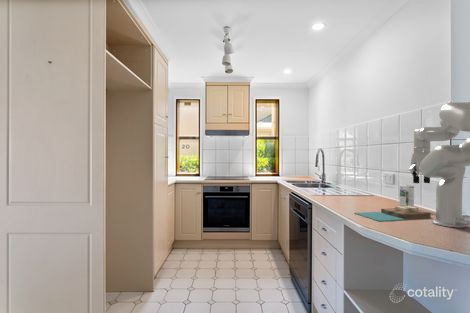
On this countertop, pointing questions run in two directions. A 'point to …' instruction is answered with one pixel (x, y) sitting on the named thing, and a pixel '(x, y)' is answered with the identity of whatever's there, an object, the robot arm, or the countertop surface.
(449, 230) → the countertop surface
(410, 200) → the syrup box
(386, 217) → the teal mat
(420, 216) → the walnut deck
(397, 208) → the birch tile
